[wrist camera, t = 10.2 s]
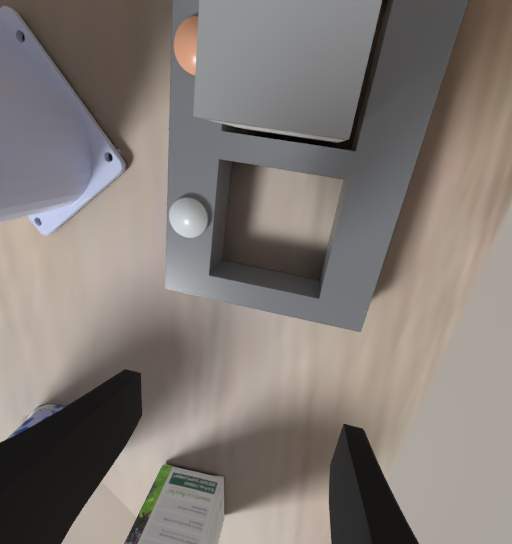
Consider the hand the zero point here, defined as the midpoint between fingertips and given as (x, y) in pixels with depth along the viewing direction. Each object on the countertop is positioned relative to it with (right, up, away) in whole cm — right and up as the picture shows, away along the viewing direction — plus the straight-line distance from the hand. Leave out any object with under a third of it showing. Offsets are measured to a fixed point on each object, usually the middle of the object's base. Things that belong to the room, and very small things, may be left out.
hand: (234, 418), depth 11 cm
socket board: (+2, +11, +5) cm, 13 cm away
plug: (+3, +14, +4) cm, 15 cm away
